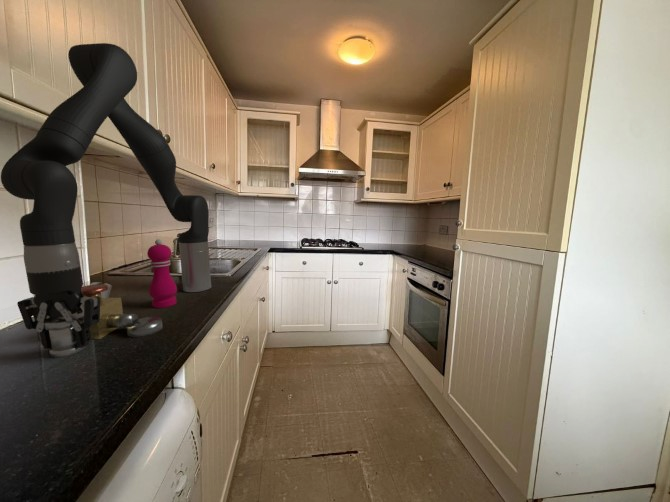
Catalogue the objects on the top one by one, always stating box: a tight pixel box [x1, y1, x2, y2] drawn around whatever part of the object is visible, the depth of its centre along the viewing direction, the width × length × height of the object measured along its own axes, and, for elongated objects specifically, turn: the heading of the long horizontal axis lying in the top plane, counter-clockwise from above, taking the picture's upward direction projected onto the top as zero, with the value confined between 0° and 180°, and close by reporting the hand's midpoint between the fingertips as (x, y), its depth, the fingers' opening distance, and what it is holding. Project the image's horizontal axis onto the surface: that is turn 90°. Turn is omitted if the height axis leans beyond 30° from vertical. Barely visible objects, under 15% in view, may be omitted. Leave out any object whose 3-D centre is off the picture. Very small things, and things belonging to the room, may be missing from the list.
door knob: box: [44, 314, 86, 359], centre depth 56 cm, size 5×5×7 cm
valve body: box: [75, 283, 163, 340], centre depth 65 cm, size 8×18×11 cm, turn 94°
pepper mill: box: [147, 238, 178, 309], centre depth 82 cm, size 7×7×20 cm
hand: (67, 346), depth 57 cm, fingers open, 5 cm apart
